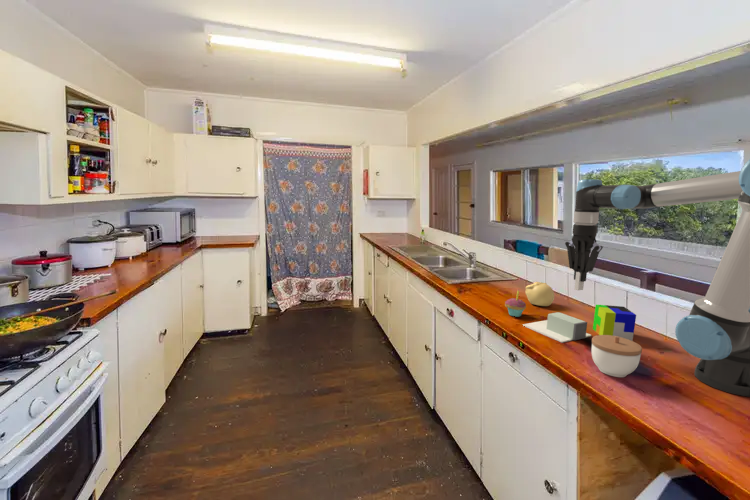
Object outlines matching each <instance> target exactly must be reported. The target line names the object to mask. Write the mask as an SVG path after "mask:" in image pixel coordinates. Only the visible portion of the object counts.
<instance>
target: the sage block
mask: <svg viewBox="0 0 750 500" xmlns="http://www.w3.org/2000/svg"><path fill="white" fill-rule="evenodd" d="M546 320H547V328H546V329H548V330H550V331H553V332H555V333H558V334H560V335H562V336H565V337H567V338H570V339H572V341H578V340H581V339H582V340H583V339H586V338H587V337H586V333H587V329H588V322H587V321H585V320H582V319H580V318H577V317H574V316H570V315H569V314H566V313H562V312H557V311H556V312H552V313H548V314H547V319H546Z"/></svg>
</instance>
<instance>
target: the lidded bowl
mask: <svg viewBox="0 0 750 500" xmlns="http://www.w3.org/2000/svg"><path fill="white" fill-rule="evenodd" d="M642 352H643V348H642V346H641V345H640V344H639V343H637V342H635V341H631V340H628V339H625V338H621V337H619V336H611V335H599V334H598V335H595V336H594V335H593V337H592V338H591V351H590V353H591V358H592V361H593V362H594V364H595V366H596V367H597V368H598V370H599V371H600V372H601V373H603V374H605V375H607V376H609V377H614V378H625V377H627V375H630V374H631V373H633V372H634V371H635V370H636V369H637V367H638V366H639V364H640V360H641V355H642Z"/></svg>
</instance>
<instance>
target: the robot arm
mask: <svg viewBox="0 0 750 500" xmlns="http://www.w3.org/2000/svg"><path fill="white" fill-rule="evenodd" d="M744 163H745V164H744V165H743V166H742V168H741V170H737V171H732V172H724V173H717V174H711V175H705V176H699V177H692V178H685V179H679V180H673V181H665V182H659V183H653V184H647V185H633V184H613V185H612V184H609V185H604V184H603V181H602V179H598V178H597V179H595V178H594V179H593V178H592V179H591V178H590V179H589V178H588V179H585V178H584V179H579V181H578V182H577V187H576V191H575V207H574V213H573V223H574V224H573V226H572V237H571V240H568V241H566V242H565V243H564V245H565V247H566V249H567V250H566V251H567V258H568V259H567V260H568V265H569V269H572V270H573V280H574V290H575V291H583V290H584V283H585V282H586V281H587V274H588V273H589V272H593V270H594V268H595V265H596V262H597V261H598V258H599V257H598V256H599V254H600V252H601V251H602V250H603V246H602V245H599V244H598V243H597V239H596V237H597V235H598V225H597V224H598V223H599V218H600V217H599V216H600V209H619V210H630V209H639V210H640V209H641V210H647V209H653V208H659V207H669V206H677V205H689V204H697V203H698V204H699V203H709V202H717V201H718V202H719V201H720V202H721V201H730V200H737V203H738V204H739V206H740V207H741V208H742V210H741V213H740V216H739V217H738V220H737V222H736V224H735V227H734V229H733V232H732V234H731V236H730V238H729V240H728V243H727V246H726V247H725V250H724V252H723V255H722V257H721V259H720V261H719V264H718V267H717V269H716V270H715V272H714V276H713V278H712V281H710V285H709V287H708V289H707V292H706V293H705V296H703V297H702V298H699V299H696V300H695V301H694V303H693V305H692V308H691V310H690V312H689V314H688V315H686V316H684V317H682V318H681V319H680V320H678V322H677V324H676V326H675V331H674V332H675V337H676V340H677V341H678V342H679V345H680V346H681V348H682V349H683V350H684V351H686V352H687V353H688V354H689V355H691V356H693V357H695V358H697V359H700V360H699V361H698V363H697V364H696V366H695V369H694V377H695V378H696V379H698V380H699V382H701V383H703V384H705V385H706V386H709V387H712V388H714V389H717V390H720V391H722V392H726V393H728V394H733V395H737V396H743V397H749V398H750V158H749V159H748V160H747V161H746V162H744Z"/></svg>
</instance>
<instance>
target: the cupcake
mask: <svg viewBox="0 0 750 500" xmlns="http://www.w3.org/2000/svg"><path fill="white" fill-rule="evenodd" d="M516 291H517V292H516V298H515V297H514V298H513V297H512V298H509V299H507V300H506V301H504V306H505V307H506V308H507V311H508V314H509V316H511V317H514V316H515V317H517V318H519V317H522V313H523V312H524V310H526V308H527V306H526V303H525V302H524V301H523V300H522V299H520V298H519V294H520V289H517V290H516ZM515 317H514V318H515Z"/></svg>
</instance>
